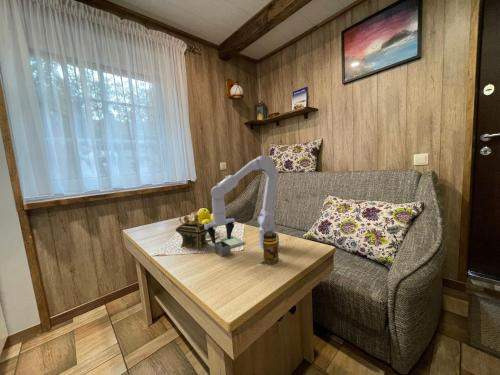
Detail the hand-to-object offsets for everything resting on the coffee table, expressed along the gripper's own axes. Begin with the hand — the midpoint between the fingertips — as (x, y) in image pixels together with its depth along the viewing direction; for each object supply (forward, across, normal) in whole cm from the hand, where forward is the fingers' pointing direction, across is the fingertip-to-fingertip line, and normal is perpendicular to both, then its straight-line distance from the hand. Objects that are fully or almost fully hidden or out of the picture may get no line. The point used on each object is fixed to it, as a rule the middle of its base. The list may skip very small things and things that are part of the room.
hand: (221, 240), depth 100 cm
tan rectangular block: (+6, 0, 0) cm, 6 cm away
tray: (+6, -9, -8) cm, 13 cm away
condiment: (+6, -12, +20) cm, 24 cm away
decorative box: (+7, +8, -20) cm, 22 cm away
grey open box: (+6, 0, 0) cm, 6 cm away
